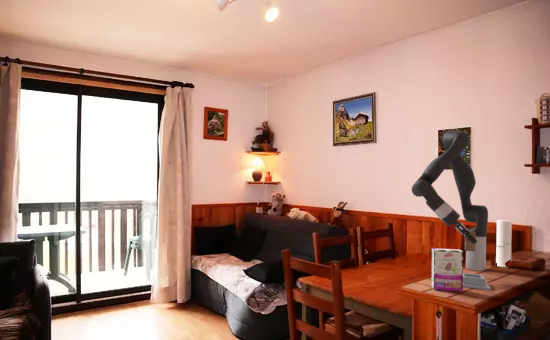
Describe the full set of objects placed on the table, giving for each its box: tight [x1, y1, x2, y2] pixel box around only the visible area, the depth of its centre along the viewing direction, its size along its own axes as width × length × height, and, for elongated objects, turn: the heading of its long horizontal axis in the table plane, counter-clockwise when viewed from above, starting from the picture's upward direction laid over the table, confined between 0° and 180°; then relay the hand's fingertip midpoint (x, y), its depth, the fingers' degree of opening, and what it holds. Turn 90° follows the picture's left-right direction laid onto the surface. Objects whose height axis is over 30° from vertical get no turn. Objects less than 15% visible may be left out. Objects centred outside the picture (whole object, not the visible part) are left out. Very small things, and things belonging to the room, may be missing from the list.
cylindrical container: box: [495, 219, 513, 268], centre depth 215 cm, size 7×7×25 cm
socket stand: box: [463, 272, 491, 291], centre depth 168 cm, size 12×12×4 cm
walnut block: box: [464, 231, 476, 252], centre depth 179 cm, size 4×4×8 cm
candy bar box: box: [431, 247, 464, 293], centre depth 159 cm, size 11×5×16 cm, turn 80°
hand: (474, 241), depth 178 cm, fingers closed on walnut block, 4 cm apart
